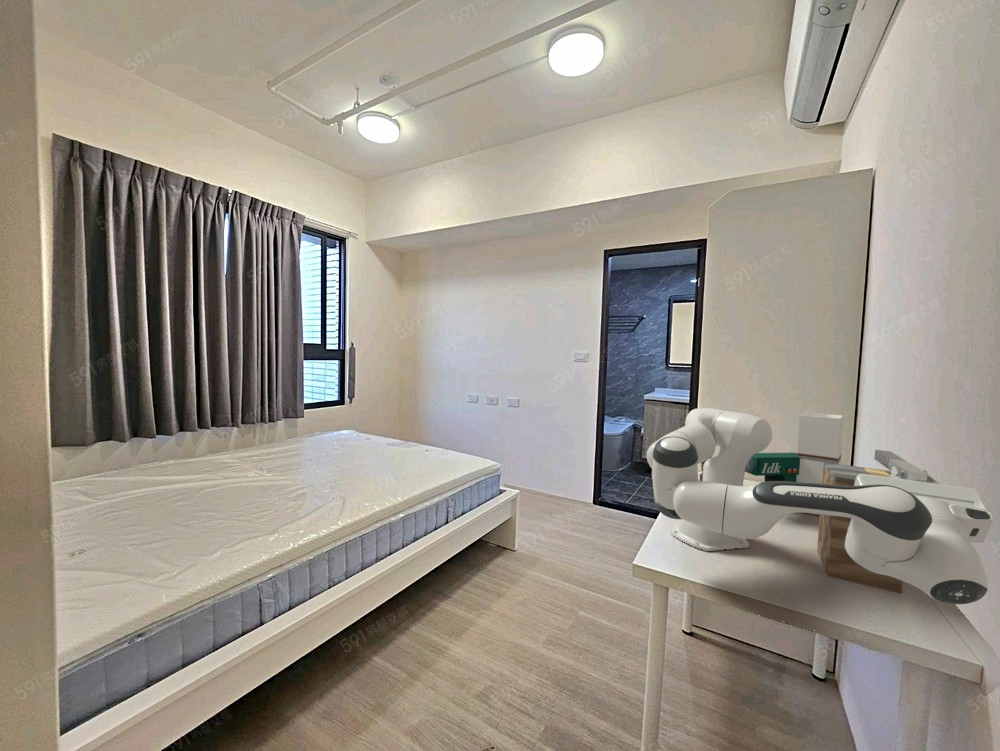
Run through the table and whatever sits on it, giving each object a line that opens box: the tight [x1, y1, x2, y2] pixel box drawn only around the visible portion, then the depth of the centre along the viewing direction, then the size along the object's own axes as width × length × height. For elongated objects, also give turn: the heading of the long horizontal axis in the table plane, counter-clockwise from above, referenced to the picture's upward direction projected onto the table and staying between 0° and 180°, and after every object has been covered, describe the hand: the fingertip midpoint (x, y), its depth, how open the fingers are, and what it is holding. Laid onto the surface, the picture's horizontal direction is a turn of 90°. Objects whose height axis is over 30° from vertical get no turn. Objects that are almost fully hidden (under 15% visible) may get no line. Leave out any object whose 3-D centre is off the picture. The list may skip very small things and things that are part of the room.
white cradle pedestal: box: [796, 412, 844, 517], centre depth 148 cm, size 11×11×35 cm
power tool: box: [745, 452, 800, 482], centre depth 150 cm, size 32×7×20 cm, turn 98°
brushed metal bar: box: [873, 449, 927, 482], centre depth 96 cm, size 23×3×2 cm, turn 150°
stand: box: [816, 463, 904, 594], centre depth 108 cm, size 16×14×26 cm
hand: (909, 470), depth 90 cm, fingers closed on brushed metal bar, 3 cm apart
